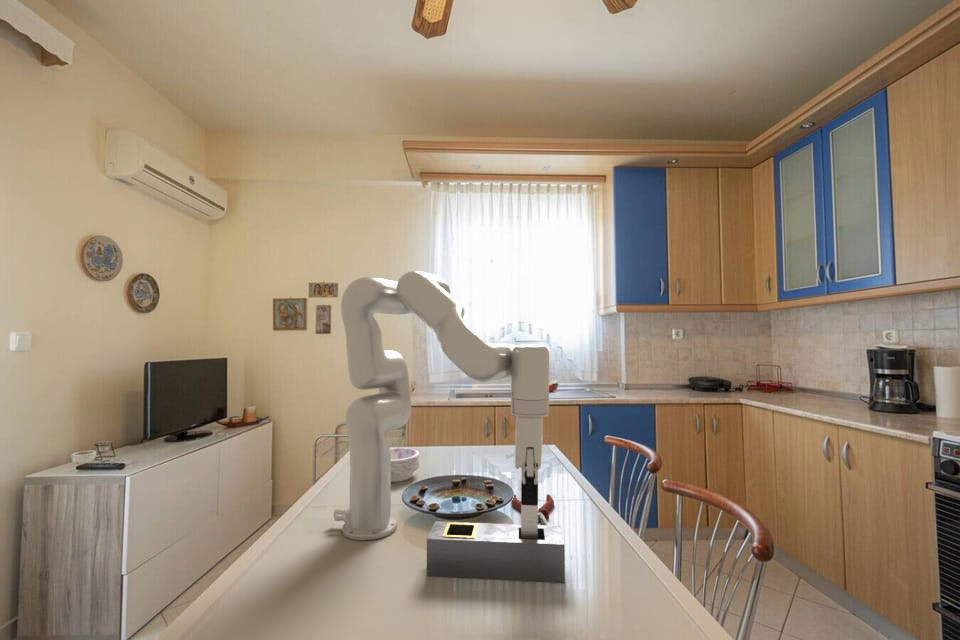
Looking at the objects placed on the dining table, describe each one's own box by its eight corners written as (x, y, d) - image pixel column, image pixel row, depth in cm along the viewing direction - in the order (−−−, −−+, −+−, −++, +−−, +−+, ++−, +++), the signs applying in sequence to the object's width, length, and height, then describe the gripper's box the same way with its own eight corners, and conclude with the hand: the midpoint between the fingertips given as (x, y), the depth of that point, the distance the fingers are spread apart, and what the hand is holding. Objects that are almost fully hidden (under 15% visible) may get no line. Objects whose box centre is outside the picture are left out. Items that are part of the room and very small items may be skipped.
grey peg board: (426, 576, 82) (426, 537, 83) (435, 555, 90) (435, 520, 91) (564, 583, 80) (564, 543, 80) (561, 561, 88) (560, 525, 88)
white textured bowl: (362, 483, 136) (363, 457, 136) (386, 469, 151) (387, 446, 151) (406, 487, 132) (406, 461, 132) (427, 472, 146) (427, 449, 147)
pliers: (517, 534, 101) (517, 523, 101) (510, 502, 121) (510, 492, 121) (566, 534, 101) (566, 523, 101) (551, 502, 121) (551, 492, 121)
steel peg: (520, 538, 83) (521, 469, 84) (521, 530, 87) (521, 465, 87) (537, 539, 83) (538, 470, 84) (537, 531, 86) (537, 465, 87)
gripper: (511, 400, 94) (511, 485, 94) (509, 413, 78) (509, 517, 77) (546, 401, 94) (546, 487, 93) (551, 415, 77) (551, 519, 76)
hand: (529, 499), depth 85 cm, fingers closed on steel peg, 3 cm apart
